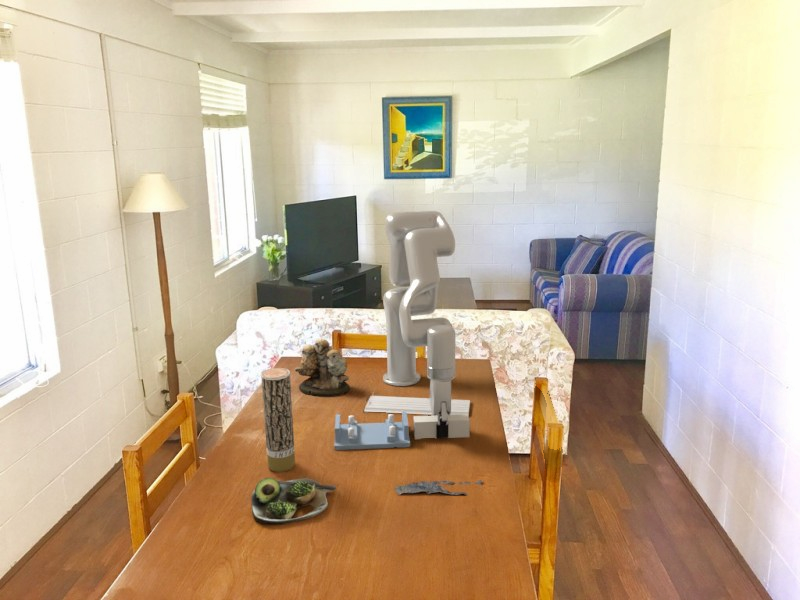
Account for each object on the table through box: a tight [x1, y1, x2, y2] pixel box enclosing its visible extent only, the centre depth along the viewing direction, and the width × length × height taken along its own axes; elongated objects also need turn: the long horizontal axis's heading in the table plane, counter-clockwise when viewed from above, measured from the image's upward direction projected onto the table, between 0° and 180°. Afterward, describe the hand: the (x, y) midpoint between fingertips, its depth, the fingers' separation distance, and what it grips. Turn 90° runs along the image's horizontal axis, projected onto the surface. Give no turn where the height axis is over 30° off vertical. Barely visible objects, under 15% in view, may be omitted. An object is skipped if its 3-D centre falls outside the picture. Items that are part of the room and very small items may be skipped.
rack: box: [333, 412, 411, 451], centre depth 179 cm, size 20×13×5 cm, turn 94°
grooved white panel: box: [363, 395, 471, 418], centre depth 198 cm, size 31×3×12 cm
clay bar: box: [412, 414, 471, 440], centre depth 180 cm, size 15×4×5 cm, turn 94°
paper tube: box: [260, 367, 296, 473], centre depth 162 cm, size 7×7×25 cm
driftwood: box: [394, 479, 483, 497], centre depth 154 cm, size 21×7×2 cm, turn 87°
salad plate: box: [250, 477, 337, 526], centre depth 149 cm, size 19×18×5 cm
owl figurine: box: [294, 338, 351, 397], centre depth 212 cm, size 18×12×17 cm, turn 81°
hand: (441, 433), depth 181 cm, fingers closed on clay bar, 4 cm apart
